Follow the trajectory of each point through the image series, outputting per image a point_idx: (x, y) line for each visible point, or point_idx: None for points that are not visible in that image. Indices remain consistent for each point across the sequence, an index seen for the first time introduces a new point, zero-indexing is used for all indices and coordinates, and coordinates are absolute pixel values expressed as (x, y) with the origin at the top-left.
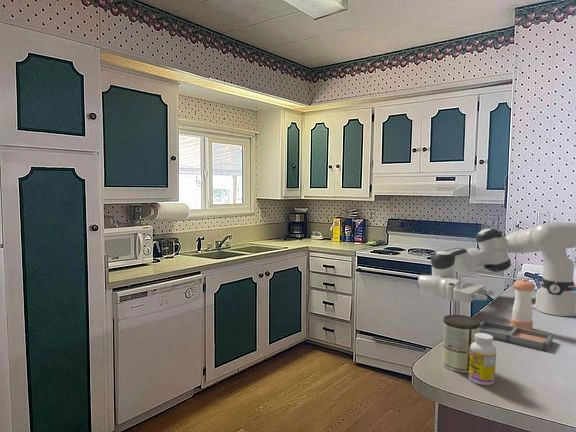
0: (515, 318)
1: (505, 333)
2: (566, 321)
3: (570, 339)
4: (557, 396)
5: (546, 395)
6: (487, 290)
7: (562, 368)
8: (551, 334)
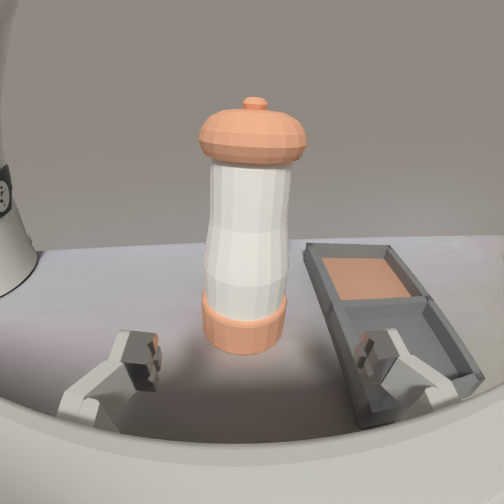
0: (279, 302)
1: None
2: (77, 254)
3: None
4: (486, 242)
5: (496, 247)
6: (111, 379)
7: (424, 242)
8: (308, 244)
